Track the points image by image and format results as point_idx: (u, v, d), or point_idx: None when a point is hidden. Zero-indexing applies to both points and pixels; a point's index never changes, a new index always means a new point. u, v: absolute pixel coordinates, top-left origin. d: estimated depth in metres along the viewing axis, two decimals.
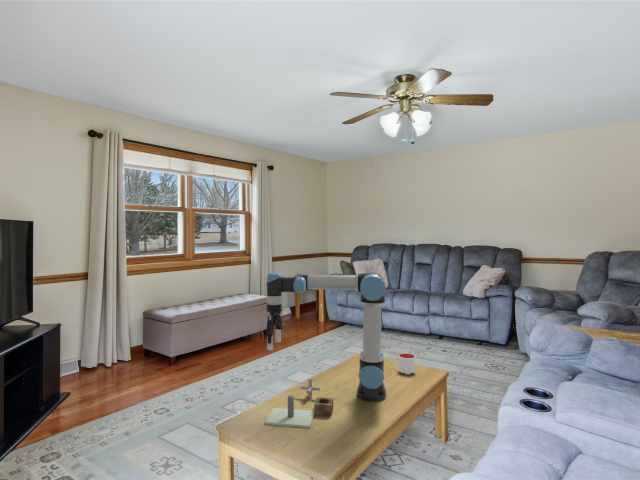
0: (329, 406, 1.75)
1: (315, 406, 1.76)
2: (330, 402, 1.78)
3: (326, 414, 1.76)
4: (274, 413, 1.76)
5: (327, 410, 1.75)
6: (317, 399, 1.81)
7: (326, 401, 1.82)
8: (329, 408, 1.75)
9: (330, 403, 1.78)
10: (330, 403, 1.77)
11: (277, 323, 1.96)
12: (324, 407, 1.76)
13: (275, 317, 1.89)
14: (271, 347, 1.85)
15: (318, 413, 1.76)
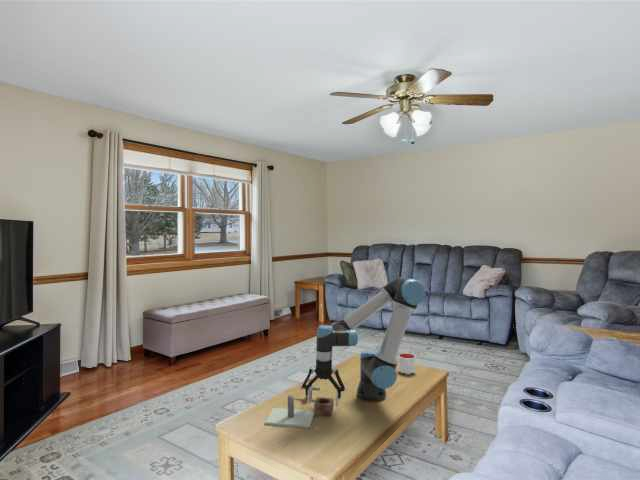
0: (329, 406, 1.75)
1: (315, 406, 1.76)
2: (330, 402, 1.78)
3: (326, 414, 1.76)
4: (274, 413, 1.76)
5: (327, 410, 1.75)
6: (317, 399, 1.81)
7: (326, 401, 1.82)
8: (329, 408, 1.75)
9: (330, 403, 1.78)
10: (330, 403, 1.77)
11: None
12: (324, 407, 1.76)
13: (318, 373, 1.78)
14: None
15: (318, 413, 1.76)
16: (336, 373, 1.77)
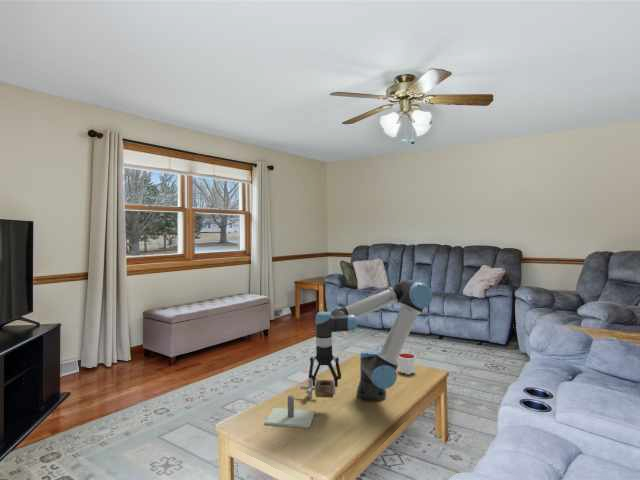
0: (330, 387, 1.75)
1: (316, 388, 1.76)
2: (331, 384, 1.78)
3: (327, 396, 1.76)
4: (274, 413, 1.76)
5: (328, 392, 1.75)
6: (318, 381, 1.81)
7: (327, 383, 1.82)
8: (330, 389, 1.75)
9: (331, 384, 1.78)
10: (331, 385, 1.77)
11: None
12: (325, 389, 1.76)
13: (319, 360, 1.78)
14: (315, 390, 1.80)
15: (319, 395, 1.76)
16: (336, 360, 1.77)
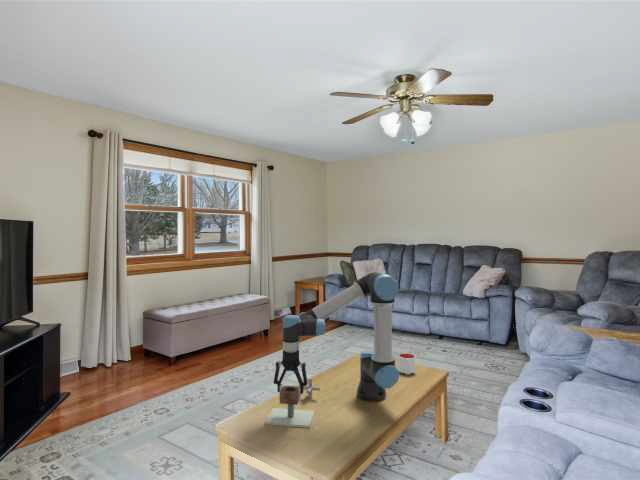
0: (295, 394, 1.68)
1: (280, 394, 1.69)
2: (296, 390, 1.71)
3: (292, 402, 1.69)
4: (274, 413, 1.76)
5: (293, 398, 1.68)
6: (284, 387, 1.74)
7: (293, 389, 1.75)
8: (295, 396, 1.68)
9: (296, 391, 1.71)
10: (297, 391, 1.70)
11: None
12: (290, 395, 1.69)
13: (285, 365, 1.72)
14: None
15: (283, 401, 1.69)
16: (303, 366, 1.71)
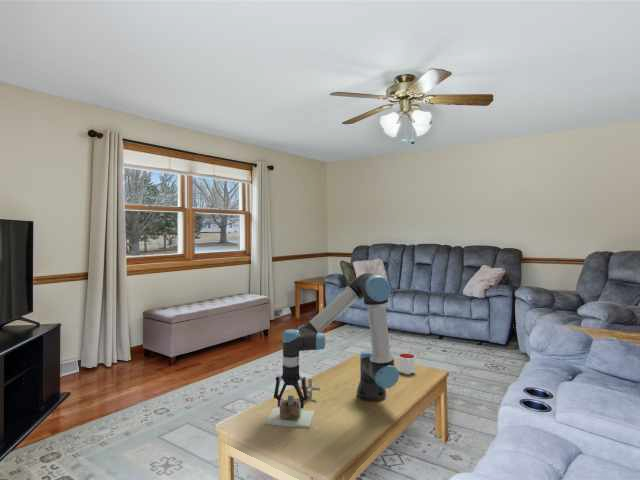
0: (295, 409, 1.68)
1: (281, 409, 1.69)
2: (296, 405, 1.71)
3: (292, 417, 1.69)
4: (274, 413, 1.76)
5: (293, 413, 1.69)
6: (284, 402, 1.75)
7: None
8: (295, 411, 1.68)
9: (297, 405, 1.71)
10: (297, 406, 1.70)
11: None
12: (290, 410, 1.69)
13: (285, 379, 1.72)
14: None
15: (284, 416, 1.69)
16: (303, 381, 1.71)
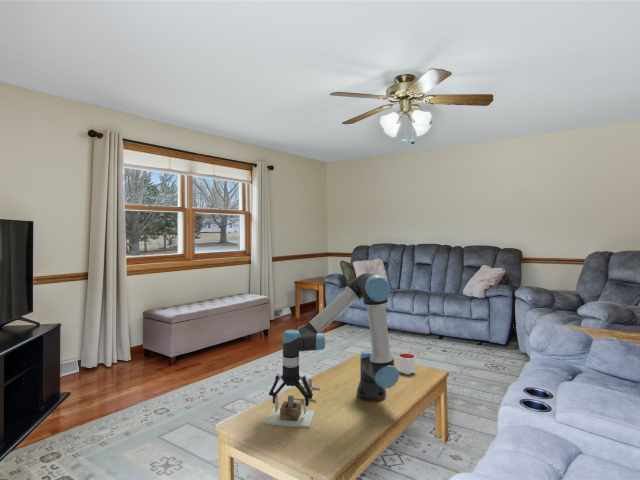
0: (295, 411, 1.68)
1: (281, 411, 1.69)
2: (297, 406, 1.71)
3: (292, 419, 1.69)
4: (274, 413, 1.76)
5: (293, 415, 1.69)
6: (284, 403, 1.75)
7: None
8: (295, 413, 1.68)
9: (297, 407, 1.71)
10: (297, 408, 1.70)
11: None
12: (290, 412, 1.69)
13: (285, 379, 1.72)
14: (275, 408, 1.73)
15: (284, 418, 1.69)
16: (303, 379, 1.71)
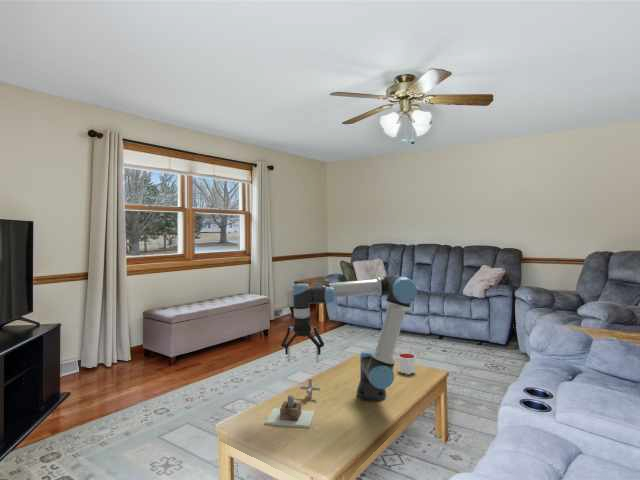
0: (295, 411, 1.68)
1: (281, 411, 1.69)
2: (297, 406, 1.71)
3: (292, 419, 1.69)
4: (274, 413, 1.76)
5: (293, 415, 1.69)
6: (284, 403, 1.75)
7: None
8: (295, 413, 1.68)
9: (297, 407, 1.71)
10: (297, 408, 1.70)
11: None
12: (290, 412, 1.69)
13: (297, 330, 1.79)
14: (288, 359, 1.80)
15: (284, 418, 1.69)
16: (314, 329, 1.78)
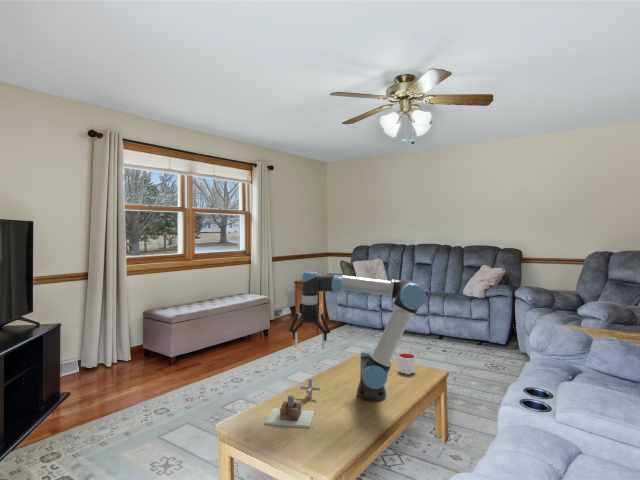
0: (295, 411, 1.68)
1: (281, 411, 1.69)
2: (297, 406, 1.71)
3: (292, 419, 1.69)
4: (274, 413, 1.76)
5: (293, 415, 1.69)
6: (284, 403, 1.75)
7: None
8: (295, 413, 1.68)
9: (297, 407, 1.71)
10: (297, 408, 1.70)
11: None
12: (290, 412, 1.69)
13: (305, 317, 1.85)
14: (295, 343, 1.87)
15: (284, 418, 1.69)
16: (321, 316, 1.84)
